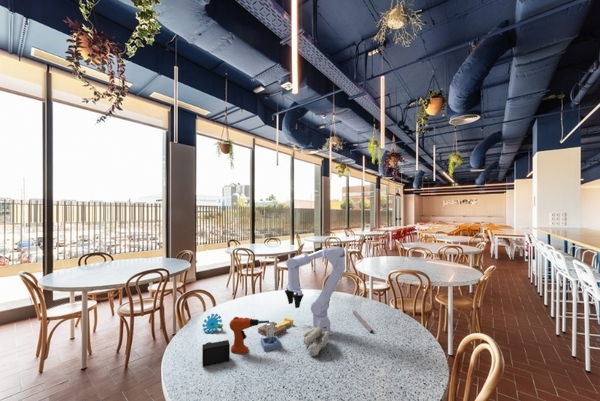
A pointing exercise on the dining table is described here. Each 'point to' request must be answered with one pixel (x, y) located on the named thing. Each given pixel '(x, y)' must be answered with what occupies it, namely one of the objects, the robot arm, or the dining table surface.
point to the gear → (212, 323)
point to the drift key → (285, 323)
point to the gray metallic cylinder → (270, 333)
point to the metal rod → (363, 322)
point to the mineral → (315, 340)
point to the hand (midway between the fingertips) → (294, 305)
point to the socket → (277, 331)
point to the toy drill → (241, 333)
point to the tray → (270, 346)
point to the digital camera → (215, 353)
